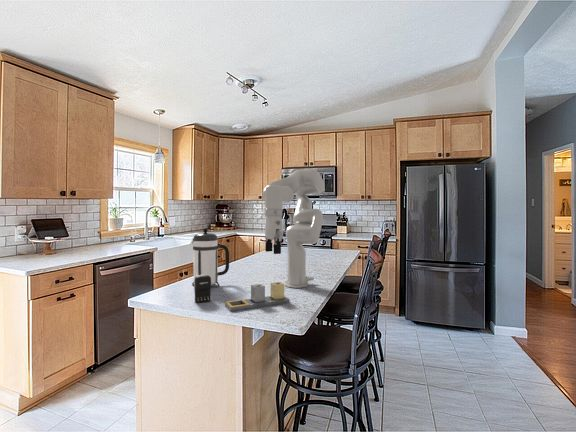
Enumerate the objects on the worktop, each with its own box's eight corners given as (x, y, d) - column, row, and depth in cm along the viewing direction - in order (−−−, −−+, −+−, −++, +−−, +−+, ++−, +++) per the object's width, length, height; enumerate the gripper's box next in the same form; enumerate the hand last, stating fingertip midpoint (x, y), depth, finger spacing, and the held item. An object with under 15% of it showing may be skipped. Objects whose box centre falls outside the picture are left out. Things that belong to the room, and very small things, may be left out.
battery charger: (195, 304, 135) (195, 277, 135) (193, 301, 139) (193, 275, 138) (212, 301, 139) (212, 275, 138) (210, 299, 142) (209, 273, 142)
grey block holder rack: (281, 298, 144) (281, 294, 144) (289, 303, 137) (289, 298, 137) (225, 305, 133) (225, 301, 133) (230, 311, 126) (230, 307, 126)
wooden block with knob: (279, 299, 142) (279, 281, 142) (284, 302, 138) (284, 283, 138) (270, 301, 140) (270, 282, 140) (274, 303, 136) (274, 284, 136)
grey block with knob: (260, 302, 138) (260, 283, 138) (264, 305, 134) (264, 286, 134) (251, 303, 136) (251, 284, 136) (254, 306, 132) (254, 287, 132)
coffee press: (212, 291, 156) (211, 229, 155) (184, 288, 161) (184, 228, 160) (229, 283, 172) (229, 227, 171) (204, 280, 177) (203, 226, 176)
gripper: (289, 213, 134) (288, 254, 134) (274, 213, 150) (273, 250, 150) (272, 213, 131) (272, 255, 131) (258, 213, 146) (258, 250, 146)
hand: (272, 252), depth 140 cm, fingers open, 9 cm apart
